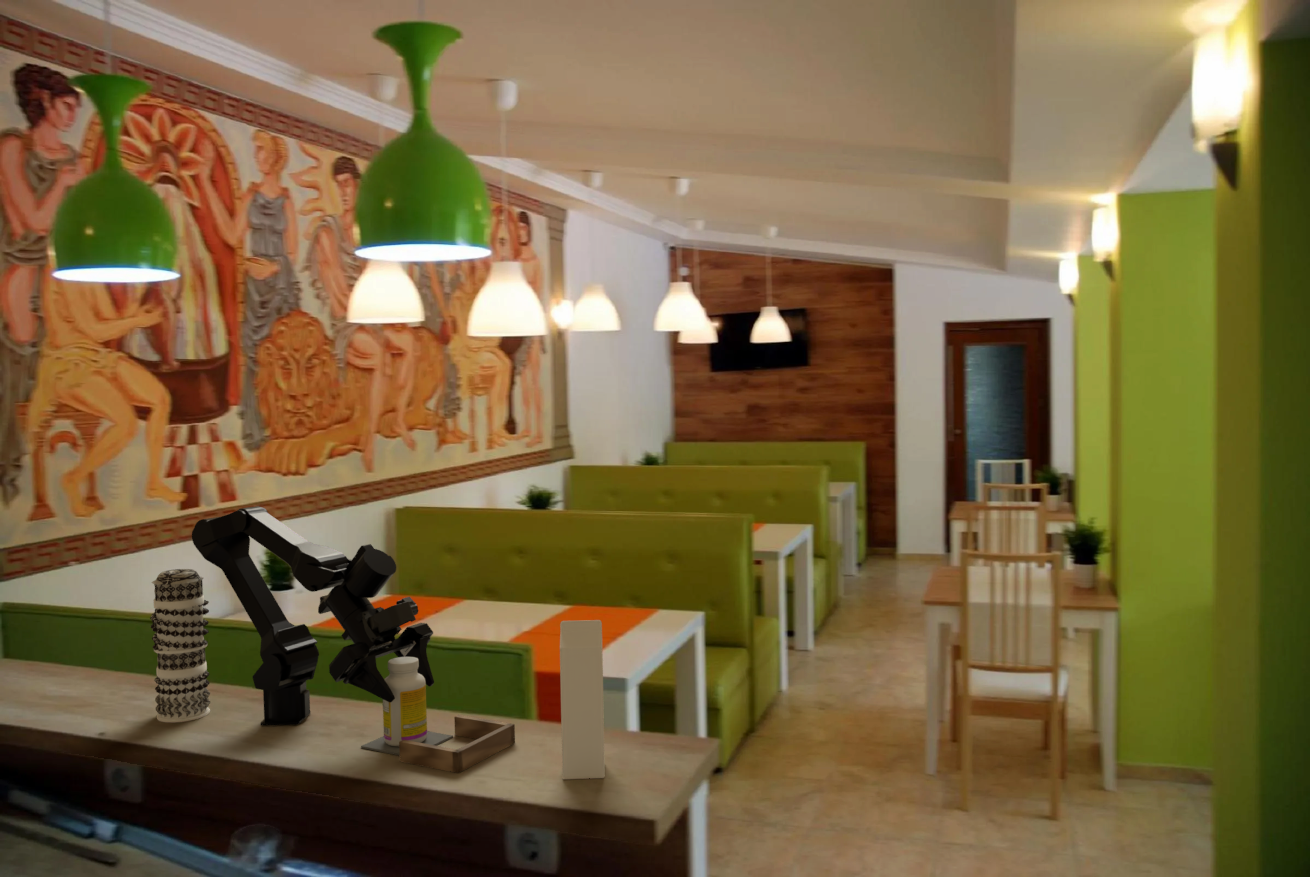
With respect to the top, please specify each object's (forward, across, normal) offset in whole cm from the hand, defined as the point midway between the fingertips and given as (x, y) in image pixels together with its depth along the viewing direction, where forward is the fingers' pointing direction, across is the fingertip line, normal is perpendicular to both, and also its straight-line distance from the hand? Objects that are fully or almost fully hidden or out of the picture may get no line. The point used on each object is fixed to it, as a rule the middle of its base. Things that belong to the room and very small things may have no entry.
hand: (412, 692), depth 163 cm
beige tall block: (+27, +1, -16) cm, 31 cm away
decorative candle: (-27, -5, +39) cm, 48 cm away
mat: (+5, 0, +7) cm, 8 cm away
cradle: (+12, 0, 0) cm, 12 cm away
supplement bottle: (+5, 0, +7) cm, 8 cm away
